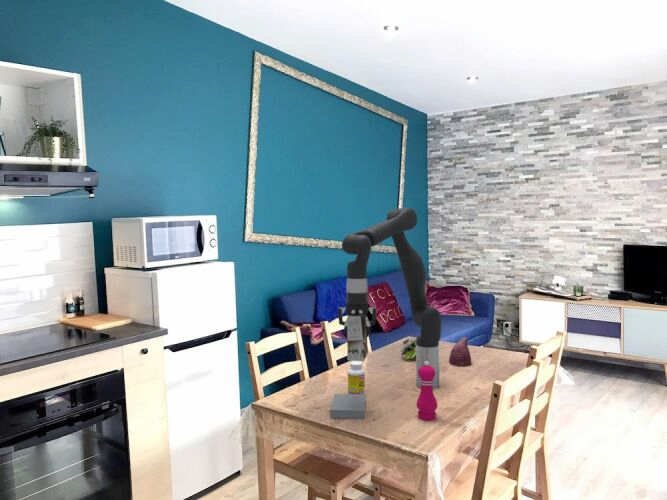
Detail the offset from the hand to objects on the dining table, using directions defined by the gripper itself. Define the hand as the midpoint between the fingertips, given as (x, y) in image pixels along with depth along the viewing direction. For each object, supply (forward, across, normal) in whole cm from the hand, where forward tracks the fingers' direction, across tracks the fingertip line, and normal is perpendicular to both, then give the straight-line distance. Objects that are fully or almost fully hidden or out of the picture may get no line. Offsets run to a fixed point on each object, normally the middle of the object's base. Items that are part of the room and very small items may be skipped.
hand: (357, 336), depth 183 cm
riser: (+28, +4, -2) cm, 28 cm away
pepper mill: (+28, -24, +4) cm, 37 cm away
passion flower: (+28, -25, -69) cm, 78 cm away
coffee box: (+8, 0, 0) cm, 8 cm away
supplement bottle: (+28, +1, -18) cm, 33 cm away
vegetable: (+28, -47, -61) cm, 82 cm away
